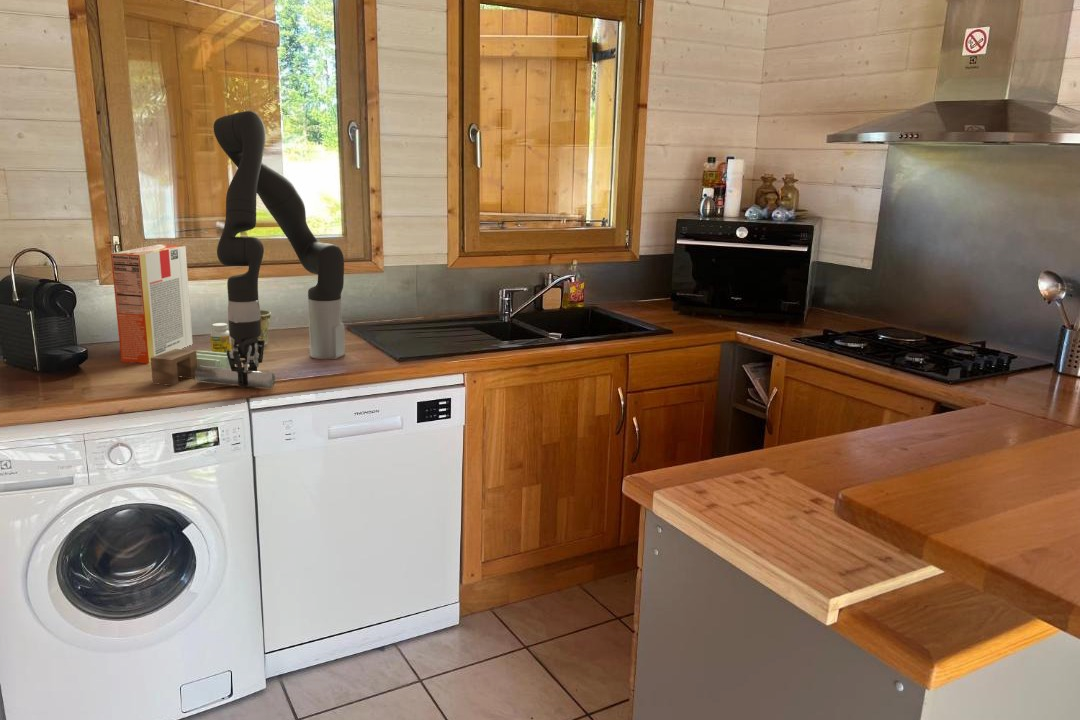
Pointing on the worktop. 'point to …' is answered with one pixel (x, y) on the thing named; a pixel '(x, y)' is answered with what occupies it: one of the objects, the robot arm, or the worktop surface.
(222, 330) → the supplement bottle
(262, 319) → the ceramic cup
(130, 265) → the pasta box
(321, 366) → the worktop surface
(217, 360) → the light green ridged block
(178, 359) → the brown arch block
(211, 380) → the axle
